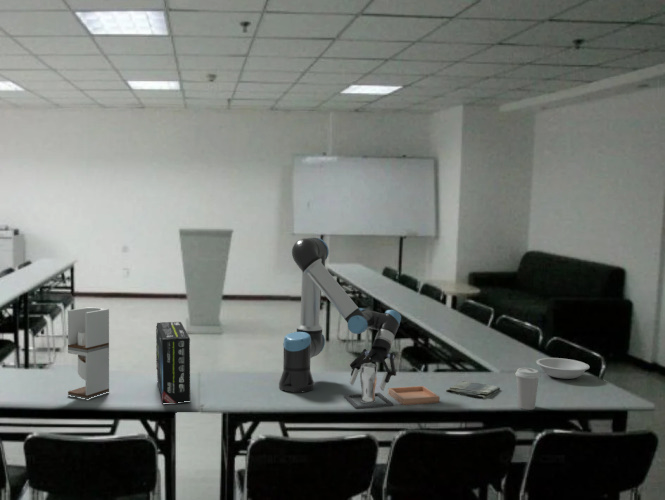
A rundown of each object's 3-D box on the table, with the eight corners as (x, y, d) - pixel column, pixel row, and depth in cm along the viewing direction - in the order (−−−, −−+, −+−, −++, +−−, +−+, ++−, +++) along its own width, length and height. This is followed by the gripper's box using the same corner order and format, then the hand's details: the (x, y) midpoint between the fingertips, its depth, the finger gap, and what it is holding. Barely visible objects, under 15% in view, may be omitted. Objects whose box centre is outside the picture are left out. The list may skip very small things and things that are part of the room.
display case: (90, 389, 265) (90, 306, 262) (109, 393, 260) (109, 309, 258) (68, 396, 254) (67, 310, 252) (87, 400, 250) (87, 313, 247)
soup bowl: (597, 384, 289) (598, 370, 289) (544, 383, 289) (545, 369, 289) (577, 371, 313) (578, 358, 312) (529, 370, 313) (529, 357, 313)
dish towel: (462, 384, 287) (462, 377, 287) (500, 391, 277) (500, 384, 277) (444, 393, 272) (445, 386, 272) (484, 401, 262) (484, 393, 261)
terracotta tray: (402, 405, 252) (403, 399, 252) (388, 393, 267) (388, 388, 267) (439, 402, 257) (439, 396, 256) (422, 391, 272) (423, 385, 272)
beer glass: (379, 400, 258) (379, 364, 257) (372, 404, 252) (373, 367, 251) (363, 397, 261) (364, 362, 260) (356, 402, 255) (357, 365, 254)
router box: (155, 381, 278) (155, 322, 277) (181, 380, 282) (181, 321, 280) (162, 406, 245) (162, 338, 243) (191, 403, 249) (191, 336, 247)
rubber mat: (355, 408, 246) (355, 406, 246) (343, 396, 262) (343, 394, 262) (393, 405, 251) (393, 403, 251) (379, 394, 266) (379, 392, 266)
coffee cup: (540, 411, 248) (541, 374, 247) (514, 409, 249) (516, 372, 249) (537, 404, 257) (538, 368, 256) (513, 402, 259) (514, 366, 258)
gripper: (412, 351, 263) (397, 395, 250) (359, 344, 275) (342, 386, 263) (408, 341, 258) (392, 385, 245) (354, 334, 270) (336, 376, 258)
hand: (366, 386), depth 254 cm, fingers open, 13 cm apart
